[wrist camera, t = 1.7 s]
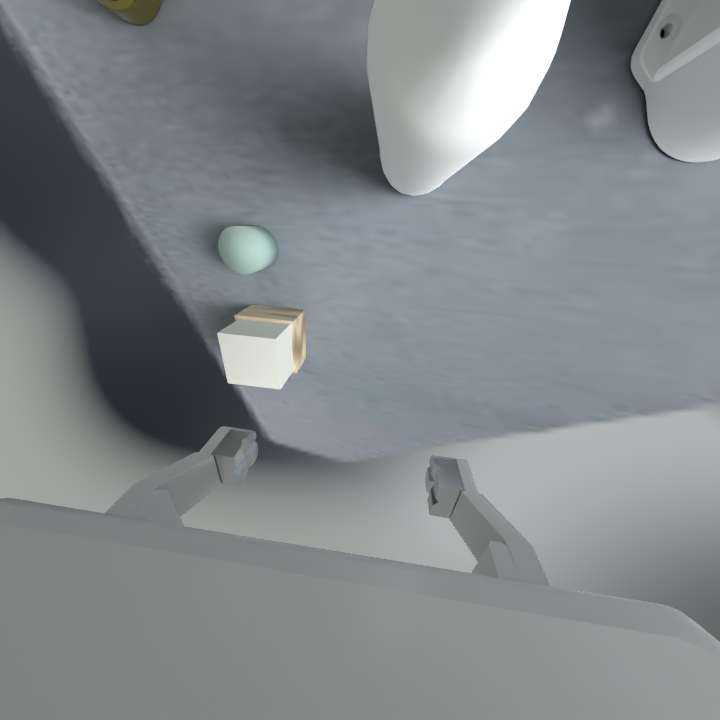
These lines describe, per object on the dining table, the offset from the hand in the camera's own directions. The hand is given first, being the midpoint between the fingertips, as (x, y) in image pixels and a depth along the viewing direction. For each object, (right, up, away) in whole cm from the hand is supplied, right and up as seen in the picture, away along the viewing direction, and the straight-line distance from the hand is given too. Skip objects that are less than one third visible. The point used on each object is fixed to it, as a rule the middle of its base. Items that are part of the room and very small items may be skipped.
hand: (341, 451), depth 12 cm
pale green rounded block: (-13, +19, +22) cm, 32 cm away
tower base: (-12, +9, +28) cm, 32 cm away
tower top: (-12, +6, +24) cm, 27 cm away
